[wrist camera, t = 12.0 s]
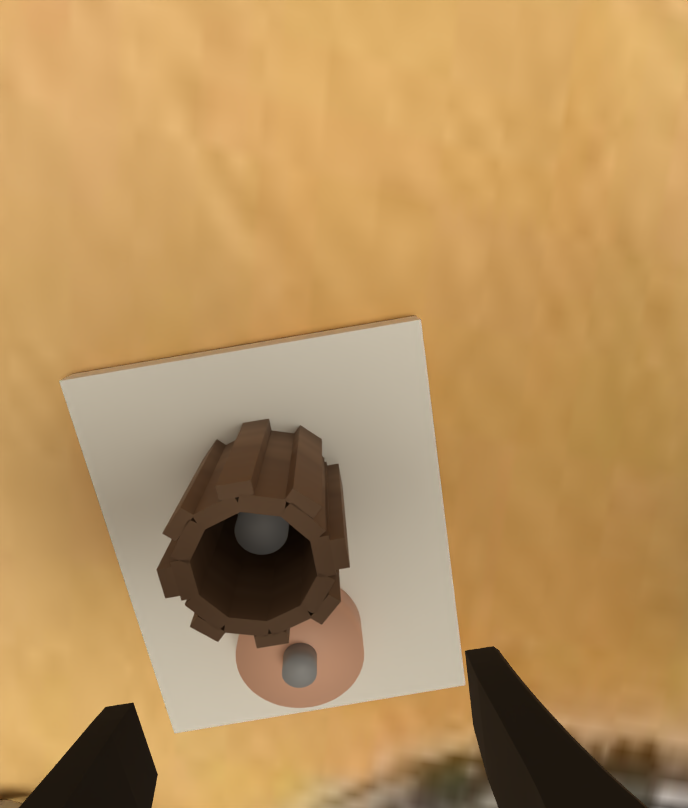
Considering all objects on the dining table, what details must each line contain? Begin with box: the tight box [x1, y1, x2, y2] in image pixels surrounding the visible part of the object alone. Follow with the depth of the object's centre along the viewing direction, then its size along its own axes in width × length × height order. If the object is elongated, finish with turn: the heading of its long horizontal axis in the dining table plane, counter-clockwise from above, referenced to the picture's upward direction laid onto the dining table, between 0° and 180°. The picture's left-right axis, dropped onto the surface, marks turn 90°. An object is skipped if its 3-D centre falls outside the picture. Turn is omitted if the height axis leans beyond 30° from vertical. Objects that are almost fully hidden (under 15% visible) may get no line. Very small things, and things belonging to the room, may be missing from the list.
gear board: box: [59, 316, 465, 733], centre depth 19 cm, size 12×15×4 cm
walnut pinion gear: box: [156, 419, 350, 648], centre depth 17 cm, size 5×5×5 cm
